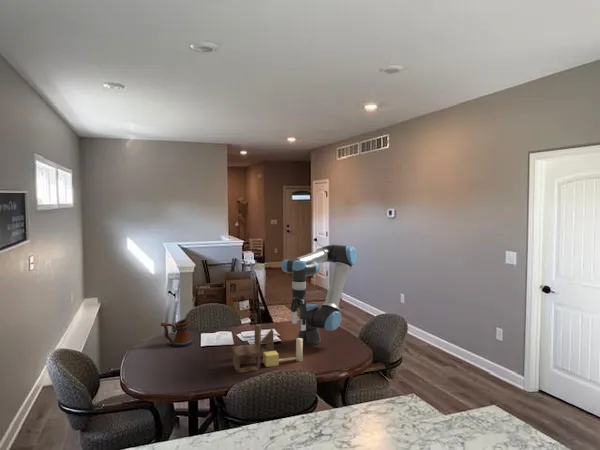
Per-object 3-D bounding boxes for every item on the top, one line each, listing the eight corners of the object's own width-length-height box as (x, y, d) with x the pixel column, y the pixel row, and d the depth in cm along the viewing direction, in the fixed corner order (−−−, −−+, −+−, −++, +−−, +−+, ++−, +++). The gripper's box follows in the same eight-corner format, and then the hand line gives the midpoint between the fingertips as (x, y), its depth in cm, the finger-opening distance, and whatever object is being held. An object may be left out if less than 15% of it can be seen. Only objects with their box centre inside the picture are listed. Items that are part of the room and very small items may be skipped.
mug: (160, 349, 250) (160, 324, 249) (160, 343, 261) (160, 319, 260) (192, 346, 255) (192, 321, 254) (191, 340, 266) (190, 316, 265)
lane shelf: (255, 361, 232) (255, 343, 232) (261, 369, 221) (261, 351, 221) (231, 364, 228) (231, 346, 227) (236, 373, 217) (236, 354, 216)
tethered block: (300, 357, 238) (300, 337, 238) (304, 361, 233) (304, 340, 232) (263, 362, 231) (263, 341, 230) (266, 366, 225) (266, 344, 225)
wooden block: (273, 355, 242) (273, 324, 241) (255, 357, 238) (255, 326, 237) (271, 353, 245) (271, 322, 244) (253, 355, 242) (253, 324, 240)
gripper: (285, 284, 242) (285, 321, 244) (300, 294, 219) (300, 334, 221) (297, 283, 245) (297, 319, 246) (314, 293, 222) (313, 332, 223)
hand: (298, 326), depth 233 cm, fingers open, 13 cm apart
